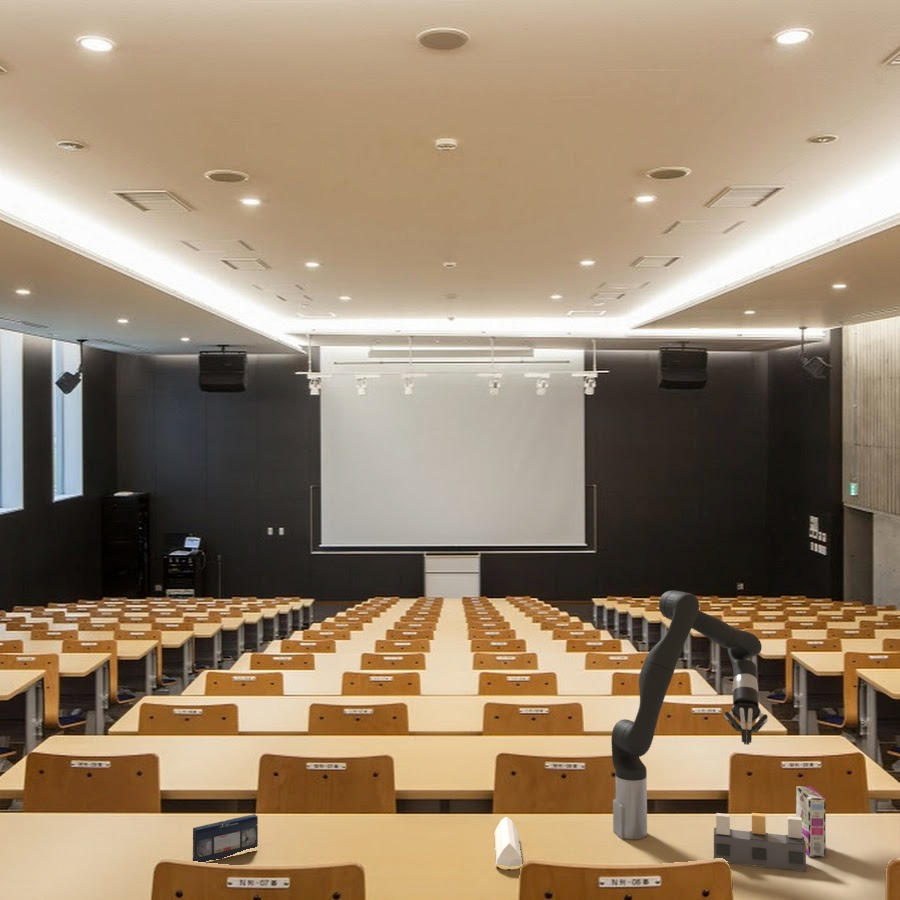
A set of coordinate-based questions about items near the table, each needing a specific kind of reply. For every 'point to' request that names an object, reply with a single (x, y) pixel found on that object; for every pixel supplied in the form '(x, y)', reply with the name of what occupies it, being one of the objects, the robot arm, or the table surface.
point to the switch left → (723, 824)
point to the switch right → (795, 827)
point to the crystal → (507, 844)
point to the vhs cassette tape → (225, 838)
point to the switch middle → (758, 823)
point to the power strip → (761, 849)
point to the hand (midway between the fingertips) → (746, 743)
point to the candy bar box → (812, 819)
